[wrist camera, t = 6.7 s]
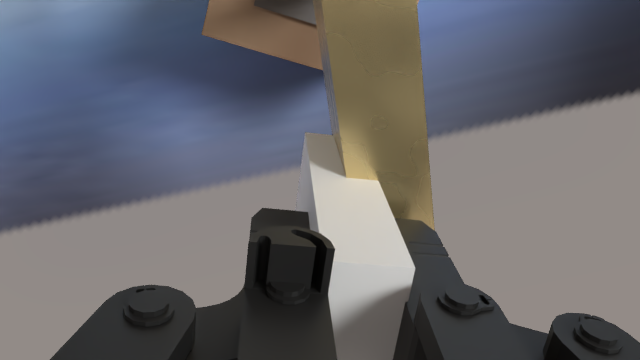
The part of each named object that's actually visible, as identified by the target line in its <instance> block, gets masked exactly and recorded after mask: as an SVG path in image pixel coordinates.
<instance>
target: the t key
mask: <svg viewBox="0 0 640 360" xmlns="http://www.w3.org/2000/svg"><path fill="white" fill-rule="evenodd" d="M313 5H314V12H315V19H316V26H317V33H318V40H319V46H320V53H321V60H322V67H323V74H324V80H325V87H326V94H327V101H328V108H329V115H330V121H331V128H332V135H334V138H335V142H336V145H337V148H338V152H339V155H340V158H341V162H342V165H343V168H344V172H345V175H346V178H355V179H366V180H376V181H379V183H380V185H381V188H382V190H383V192H384V195H385V197H386V200H387V202H388V204H389V207H390V209H391V211H392V214H393V216H394V218H401V219H412V220H421V221H423V222H424V223H425V224H426V225H428V226H429V227H430V228H432V229H433V230H434V217H433V204H432V191H431V180H430V179H431V178H430V166H429V153H428V140H427V127H426V114H425V101H424V88H423V75H422V63H421V50H420V37H419V24H418V11H417V0H313ZM434 231H435V230H434Z"/></svg>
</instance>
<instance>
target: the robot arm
mask: <svg viewBox="0 0 640 360" xmlns="http://www.w3.org/2000/svg"><path fill="white" fill-rule="evenodd" d="M50 360H640V343H639V342H638V341H637V340H635V339H634V338H633V337H631V335H629V334H628V333H626V332H625V331H623V330H622V329H620V328H619V327H617V326H616V325H614V324H612V323H609V322H607V321H605V320H604V319H602V318H599V317H597V316H591V315H588V314H580V313H566V314H562V315H559V316H557V317H556V318H555V319H554V321H553V322H552V325H551V328H550V331H549V334H547V333H543V332H539V331H535V330H532V329H528V328H524V327H521V326H517V325H514V324H511V323H509V322H508V320H507V318H506V317H505V315H504V314H503V312H502V310H501V308H500V307H499V306H498V304H497V303H496V302H495V301H494V300H493V299H492V298H491V297H490V296H488V295H487V294H485V293H483V292H482V291H480V290H479V289H476V288H473V287H471V286H468V285H465V284H464V282H463V281H462V279H461V277H460V275H459V273H458V271H457V270H456V268H455V266H454V264H453V262H452V260H451V259H450V258H449V257H448V253H447V251H446V249H445V248H444V247H443V244H442V242H441V240H440V238H439V237H438V235H437V233H436V232H435V231H434V230H433V229H432V228H430V227H429V226H428V225H426V224H425V223H424V222H423V221H421V220H412V219H401V218H394V216H393V214H392V211H391V209H390V207H389V204H388V202H387V200H386V197H385V195H384V192H383V190H382V188H381V185H380V183H379V181H376V180H366V179H355V178H346V175H345V172H344V168H343V165H342V162H341V158H340V155H339V152H338V148H337V145H336V142H335V138H334V135H325V134H315V133H306V132H305V138H304V146H303V154H302V162H301V170H300V179H299V187H298V195H297V202H296V210H295V211H291V210H279V209H268V208H262V209H261V210H260V211H259V212H258V213H256V214H255V215H254V216H253V217H252V221H251V230H250V239H249V244H248V255H247V266H246V276H245V284H244V287H243V289H242V290H241V291H240V292H239V294H238V295H236V296H235V297H233V298H232V299H230V300H228V301H226V302H223V303H220V304H217V305H212V306H208V307H202V308H196V307H195V305H194V302H193V300H192V299H191V298H190V297H188V296H187V295H186V294H185V293H184V292H182V291H179V290H177V289H174V288H171V287H168V286H158V285H145V286H144V285H143V286H137V287H132V288H129V289H126V290H123V291H120V292H117V293H116V294H115V295H113V296H112V297H111V298H109V299H108V300H106V301H105V302H104V303H103V304H102V305H101V306H100V307H99V308H98V309H97V310H96V312H95V313H94V314H93V315H92V316H91V317H90V318H89V319H88V320H87V321H86V322H85V323H84V324H83V325H82V326H81V327H80V328H79V329H78V331H77V332H76V333H75V334H74V335H73V336H72V337H71V338H70V339H69V340H68V341H67V342H66V343H65V344H64V345H63V346H62V347H61V348H60V349H59V351H58V352H57V353H56V354H55V355H54V356H53V357H52V358H51V359H50Z"/></svg>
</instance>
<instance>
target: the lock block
mask: <svg viewBox="0 0 640 360" xmlns="http://www.w3.org/2000/svg"><path fill="white" fill-rule="evenodd" d="M418 1H419V0H417V4H418ZM202 35H204V36H208V37H211V38H214V39H218V40H221V41H225V42H228V43H231V44H235V45H238V46H242V47H245V48H248V49H252V50H255V51H259V52H262V53H265V54H269V55H272V56H276V57H279V58H282V59H286V60H289V61H293V62H296V63H299V64H303V65H306V66H309V67H313V68H316V69H320V70H323V67H322V60H321V53H320V46H319V40H318V33H317V26H316V19H315V12H314V5H313V0H209V4H208V8H207V13H206V17H205V22H204V26H203V30H202Z"/></svg>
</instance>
